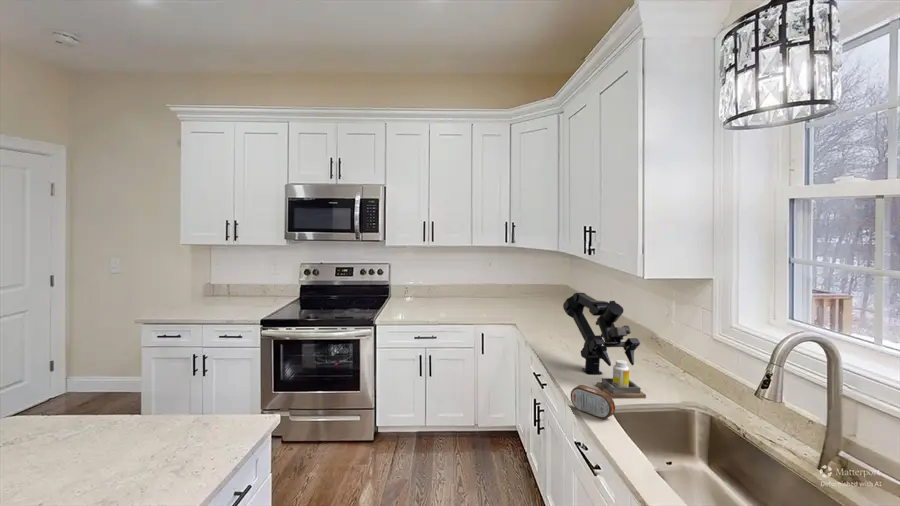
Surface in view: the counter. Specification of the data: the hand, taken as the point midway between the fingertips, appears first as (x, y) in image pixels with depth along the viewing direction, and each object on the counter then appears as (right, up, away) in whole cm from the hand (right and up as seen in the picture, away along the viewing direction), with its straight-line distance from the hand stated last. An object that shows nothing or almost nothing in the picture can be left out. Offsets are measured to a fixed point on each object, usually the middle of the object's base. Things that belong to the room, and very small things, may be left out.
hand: (621, 365), depth 165 cm
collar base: (0, -10, +1) cm, 10 cm away
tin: (-18, -11, -20) cm, 29 cm away
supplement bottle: (0, -9, +1) cm, 9 cm away
